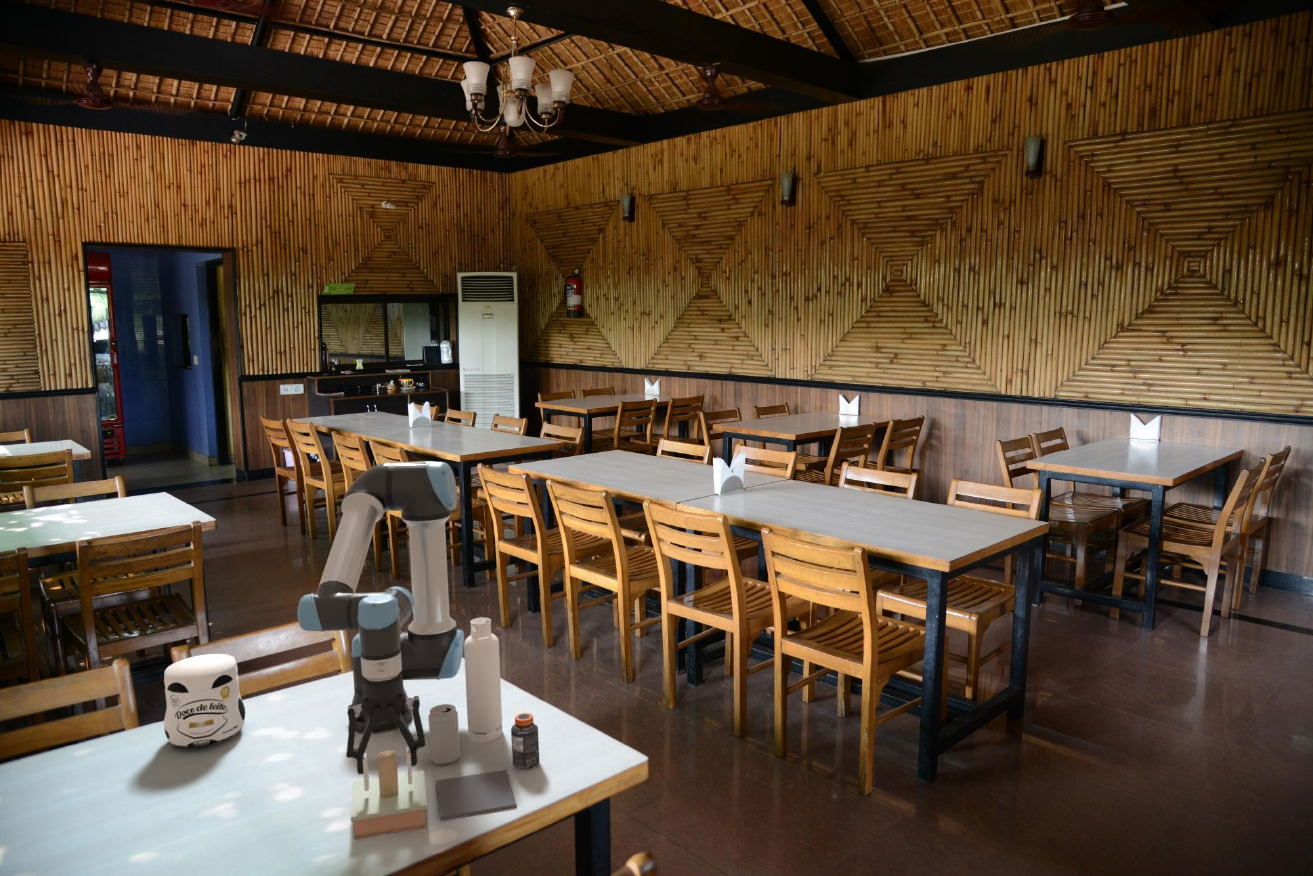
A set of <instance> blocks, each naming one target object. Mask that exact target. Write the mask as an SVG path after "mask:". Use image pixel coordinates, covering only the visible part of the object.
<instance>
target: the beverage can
mask: <svg viewBox="0 0 1313 876" xmlns="http://www.w3.org/2000/svg"><path fill="white" fill-rule="evenodd" d="M458 715H459V714H458V711H457V709H456V706H455V705H453V704H448V703H444V704H438V705H435V706H433V707H431V708H430V710H429V714H428V730H429V731H428V734H429V749H430V750H429V753H430V760H431V762H433V763H434V764H436V765H440V766H446V765H450V764H453V763H455V762H456V761H457V760H458V759H459V758H460V755H461V753H460V751H461V750H460V733H459V716H458Z"/></svg>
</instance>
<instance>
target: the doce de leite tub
mask: <svg viewBox="0 0 1313 876" xmlns="http://www.w3.org/2000/svg"><path fill="white" fill-rule="evenodd" d="M238 673H239V670H238V663H237V661H236V659H235V656H233V655H230V654H226V653H225V654H224V653H209V654H206V653H205V654H201V655H195V656H191V657H188V658H184V659H181V660H178V661H175V662H174V663H172V664H170V665H168V667H166V669H165V670H164V675H163V676H164V678H163V683H164V687H165V688H164V692H165V701H166V710H165V715H164V720H163V729H164V730H163V731H164V734H165V737H166V739H167V740H168V742H169V743H170V744H171V745H173V746H175V747H178V748H185V749H196V748H197V749H198V748H204V747H208V746H209V747H210V746H214V745H216V744H219V743H222V742H224V741H227V740H229V739H230V738H232V737H235V735H237V734H238V733H239V732H240V731H241V730H242V728H243V727H244V724H245V721H246V720H245V719H246V708H245V704H244V701H243V699H242V695H241V693H240V684H239V683H240V682H239V674H238Z"/></svg>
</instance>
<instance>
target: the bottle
mask: <svg viewBox="0 0 1313 876" xmlns="http://www.w3.org/2000/svg"><path fill="white" fill-rule="evenodd" d="M469 624H470V635H468V636H467V638H465V639H464V646H463V653H464V669H465V670H464V673H465V691H466V692H465V694H466V695H465V696H466V697H465V698H466V714H467V717H466V718H467V735H468V738H469V739H470V740H471V741H474V742H481V743H482V742H489V741H493V740H496V739H498V738H499V737H501V736H502V734H503V710H502V690H501V687H502V685H501V683H502V682H501V663H500V662H501V660H500V640H499V638H498V636H496V635H495V634H493V633H492V619H490V618H489V617H476V618H473V619H471V620H470V622H469Z"/></svg>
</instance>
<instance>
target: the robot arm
mask: <svg viewBox="0 0 1313 876" xmlns="http://www.w3.org/2000/svg"><path fill="white" fill-rule="evenodd" d="M457 505H458V488H457V481H456V478H455V474H454V472H453V469H452V467H451V466H450V465H449V464H448V463H447V462H443V461H432V460H428V461H427V460H425V461H420V460H419V461H402V462H400V461H399V462H397V461H396V462H392V461H390V462H387V461H386V462H382V463H379V464H376V465H374V466H372V467H370V468H368V469H366V471H364V472H363V473H361V474H360V475H359V476H358V477H357V478H356V479H355V480H354V481H353V482H352V483H351V485H349V487H348V489H347V490H346V492H345V494H344V496H343V500H342V501H341V512H342V515H341V519H340V522H339V525H338V529H337V531H336V534H335V536H334V540H333V541H332V546H331V548H330V552H329V555H328V557H327V561H326V564H325V566H324V570H323V572H322V575H321V579H320V582H319V583H318V588H317V590H316V592H315V593H314V592H312V593H309V594H304V595H303V596H302V597H300V600H299V603H298V606H297V620H298V621H297V622H298V625H299V627H300V628H301V629H302V630H303V631H306V632H322V633H324V632H333V631H335V632H336V631H337V632H338V631H358V633H357V634H356V635H354V637H353V638H352V641H351V655H350V657H351V660H352V673H353V674H352V675H353V689H354V695H353V698H352V701H351V704H349V705H348V706H347V717H348V726H349V727H348V736H347V745H346V746H347V747H346V755H345V756H346V757H347V759H351V758H353V759H355V760H356V768H357V769H356V770H357V774H358V775H363V780H364V788H365V791H369V779H370V778H369V764H368V763H369V762H368V752H366V750H367V747H368V744H369V742H370V738H371V736H372V734H377V733H379V734H380V733H385V732H389V731H393V730H396V729H398V730H399V732H400V734H401V735H402V737H403V739H404V741H405V743H406V745H407V747H405V748H406V749H405V750H406V763H407V764H406V765H407V766H406V767H407V769H406V770H407V773H408V784H412V772H413V771H412V770H413V769H412V767H415V766H417V765H418V753H417V751H418V750H419V749H420V748H424V747H425V746H426V737H425V733H424V732H425V731H424V728H423V724H422V719H421V715H420V705H421V702H420V697H419V695H415V696H414V697H409V696H408V695H407V692H406V689H405V686H404V681H418V680H421V681H423V680H424V681H425V680H437V681H439V680H440V681H441V680H443V679H446V680H447V679H452V678H454V677H455V676H457V674H458V673H459V670H460V667H461V664H462V658H463V653H464V642H465V635H464V633H465V632H464V631H463V630H462V629H457V622H456V620H455V619H453V618H452V617H451V616H450V600H449V584H448V583H449V581H448V578H449V577H448V559H447V558H448V557H447V539H446V537H447V536H446V523H447V521H448V520H450V517H452V511H453V510H455V509H456V508H457ZM389 511H392V512H395V511H397V512H398V511H400V512H401V515H400V516H401V520H402V521H403V522H404V523H405V524H407V526H408V538H409V540H408V542H409V558H410V575H411V592H410V590H408V589H407V588H405V587H402V586H397V585H395V586H391V587H389V588H387V589H385V590H383V591H380V592H376V591H375V592H356V591H357V587H358V583H359V580H360V577H361V574H362V571H363V567H364V564H365V561H366V557H367V554H368V551H369V548H370V547H369V546H370V545H371V541H372V537H373V534H374V531H375V528H376V524H377V522H378V521H380V520H382V518H383V516H384V514H385V513H386V512H389ZM412 614H413V620H412V621H411V623H409V624H408V626H407V631H402V628H403V627H404V626H405V625H406V623H407V622H408V621H409V620H410V619H411V617H412ZM411 719H413V722H414V727H415V733H416V735H417V739H416V740H415V738H414V736H413V734H412V733H411V731H410V729H409V727H408V725H407V724H408V723H409V722H410V721H411ZM356 732H357V733H362V736H361V738H360V741H359V743H358V747H357V748H355V739H356ZM365 752H366V753H365Z"/></svg>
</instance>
